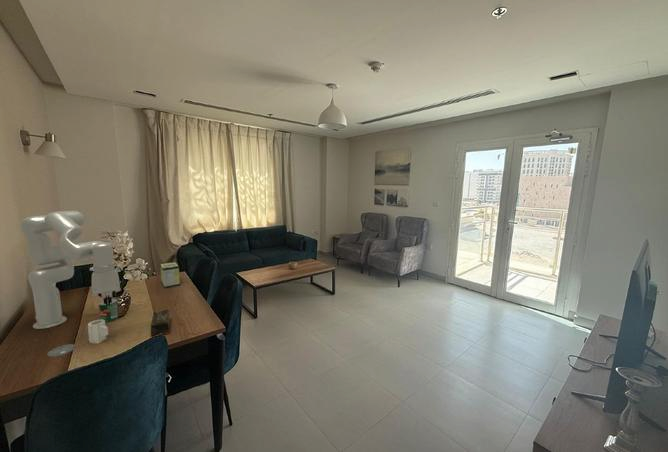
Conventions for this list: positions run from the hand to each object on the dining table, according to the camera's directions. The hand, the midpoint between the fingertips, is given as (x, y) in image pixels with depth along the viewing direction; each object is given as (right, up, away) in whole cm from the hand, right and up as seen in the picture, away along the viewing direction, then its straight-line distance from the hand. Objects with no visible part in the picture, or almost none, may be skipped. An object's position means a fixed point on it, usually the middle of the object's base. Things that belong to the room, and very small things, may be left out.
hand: (108, 304), depth 131 cm
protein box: (-17, -7, +78) cm, 80 cm away
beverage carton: (+17, -17, +14) cm, 28 cm away
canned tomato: (-16, -15, +21) cm, 30 cm away
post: (-5, -18, 0) cm, 19 cm away
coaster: (-14, -19, -9) cm, 25 cm away
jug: (-4, -17, 0) cm, 18 cm away
